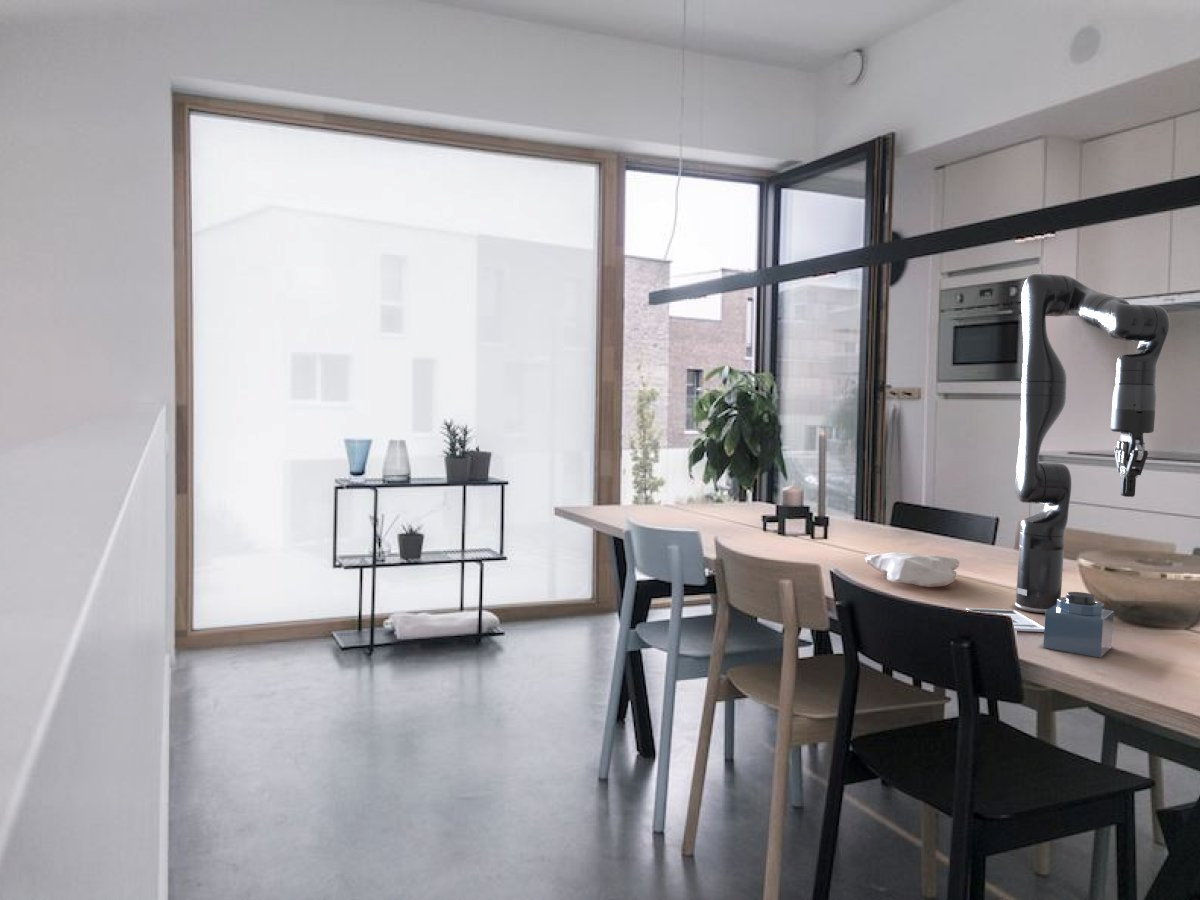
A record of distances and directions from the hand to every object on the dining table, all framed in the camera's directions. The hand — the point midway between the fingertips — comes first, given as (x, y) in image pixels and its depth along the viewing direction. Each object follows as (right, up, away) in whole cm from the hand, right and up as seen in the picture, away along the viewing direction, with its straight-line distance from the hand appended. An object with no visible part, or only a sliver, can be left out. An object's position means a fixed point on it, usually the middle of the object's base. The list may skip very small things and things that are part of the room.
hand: (1127, 496), depth 195 cm
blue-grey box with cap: (-12, -29, -4) cm, 31 cm away
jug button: (-11, -20, -4) cm, 24 cm away
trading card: (-17, -28, +17) cm, 36 cm away
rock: (-22, -25, +62) cm, 71 cm away
